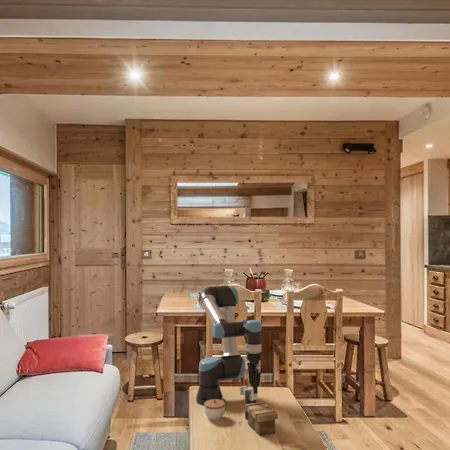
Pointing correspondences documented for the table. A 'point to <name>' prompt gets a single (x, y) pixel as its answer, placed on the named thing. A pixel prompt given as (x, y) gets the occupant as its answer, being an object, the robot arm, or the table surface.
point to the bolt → (242, 392)
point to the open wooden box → (261, 426)
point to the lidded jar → (214, 409)
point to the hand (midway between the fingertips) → (254, 399)
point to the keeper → (247, 402)
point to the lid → (261, 411)
